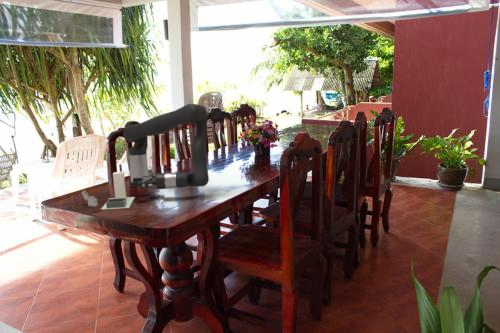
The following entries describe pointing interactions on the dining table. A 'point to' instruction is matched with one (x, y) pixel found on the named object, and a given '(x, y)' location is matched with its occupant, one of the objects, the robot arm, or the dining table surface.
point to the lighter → (89, 199)
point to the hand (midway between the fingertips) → (131, 182)
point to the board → (118, 203)
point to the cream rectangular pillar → (119, 184)
